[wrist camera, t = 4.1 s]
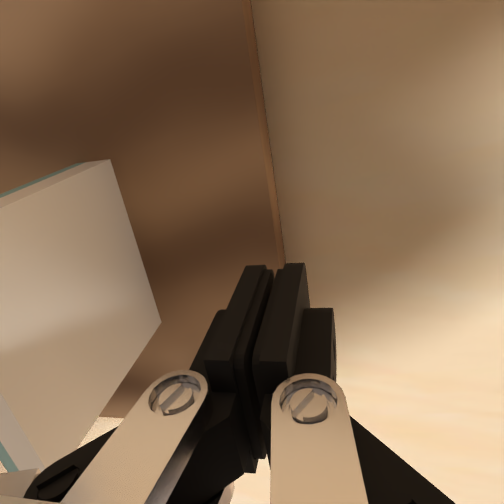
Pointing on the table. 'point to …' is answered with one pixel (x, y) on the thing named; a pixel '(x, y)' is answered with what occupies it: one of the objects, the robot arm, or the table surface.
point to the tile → (66, 310)
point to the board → (151, 144)
